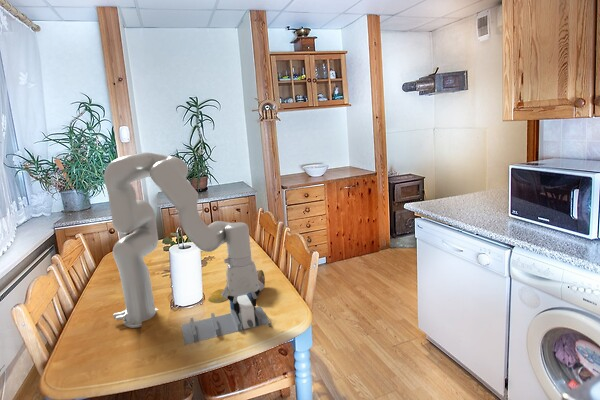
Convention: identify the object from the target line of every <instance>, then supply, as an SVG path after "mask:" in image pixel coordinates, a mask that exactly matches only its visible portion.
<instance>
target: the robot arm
mask: <svg viewBox="0 0 600 400" xmlns="http://www.w3.org/2000/svg"><path fill="white" fill-rule="evenodd" d="M188 168H189V167H188V164H186V162H185V161H184V160H183V159H181V158H179V157H177V156H170V155H165V154H160V153H159V154H158V153H153V152H141V153H140V152H139V153H135V154H130V155H129V154H128V155H125V156H121V157H117V158H116V159H114V160H111V161H110V162H109V164H108V165H107V166H106V167H105V170H104V173H103V179H104V184H105V188H106V192H107V194H108V195H107V196H108V203H109V209H110V214H111V220H112V225H113V228H114V230H115V231H116V232H117V233H119V234H123V235H125V234H128V235H125V236H123V237H121V238H120V239H118V241H116V242H115V243H114V246H113V248H112V256H113V259H114V262H115V264H116V266H117V269H118V272H119V277H120V278H119V279H120V282H121V289H122V293H123V294H122V295H123V300H124V305H125V309H124V310H122V311H120V312H119V311H118V312H114V313H113V314H112V315H113V319H114V320H115V319H116V321H121V320H123V322H122V323H123V325H124V326H125V327H127V328H129V329H130V328H131V329H134V328H136V329H137V328H142V325H143V324H142V323H143V322H146V321H148V320H151V319H152V318H153V317H155V315H156V313H157V312H156V311H159V308H157V307H156V305H155V299H154V293H153V287H152V281H151V276H150V270H149V268H148V265H147V264H146V262H145V261H144V258H145V257H146V256H148V255H150V254H151V253H152V252H154V251H155V250H156V249H157V246H158V244H159V234H158V228H157V220H156V214H155V211H154V208H153V207H152V205H151V204H150V202H147V201H146V200H143V199H137V193H136V190H135V188H134V186H133V185H132V184H131V183H132V182H135V181H138V180H142V179H146V178H149V177H150V179H151V180H152V181H153V183H154V184H155V185H156V186H157V187H158V189H159V190H160V191H161V192H162V193H163V195H164V196H165V197H166V198H167V199H168V200H169V202H171V204H172V205H173V206H174V207H175V209H176V210H177V215H178V219H179V222H180V224H181V228H182V229H183V232H184V234H186V236H187V237H188V239H190V241H191V242H192V243H193V244H194V245H195V246H196V247H197V248H198V249H199V250H201V251H202V252H206V253H211V252H214V251H215V250H218V248H219V247H221V246H222V245H223V244H226V251H227V258H225V259H223V262H224V264H227V266H226V285H225V287H224V288H223V289H224V290H223V292H222V296H223V297H225V298H227V300H230V301H232V302H233V307H234V311H236V312H237V314H239V304H238V301H237V297H238V296H239V295H244V294H248V293H251V296H250V301H251V303H252V305H253V307H254V310H255V307H257V299H256V298H257V295H258V294H259V293H260V291H261V290H262V289H263V288H264V289H265V286H264V285H263V284H262V283H261V282H260V281H259V280H258V275H257V271H258V270H257V267H256V263H255V261H253V259H252V249H251V240H250V229H249V225H248V224H247V223H245V222H242V221H240V222H239V221H238V222H229V221H222V220H216V221H213V222H212V223H210V224H209V225H207V224H206V223H205V222H204V220H203V219H202V218H201V216H200V213H199V210H198V201H199V193H198V191H197V190H196V189H195V188H194V186H193V185H192V184H191V183H190V182H189V181H188V179H187V177H188V175H189V169H188ZM129 233H130V234H129ZM264 289H263V290H264ZM228 292H229V294H227V293H228ZM230 301H229V302H230Z"/></svg>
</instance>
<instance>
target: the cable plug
mask: <svg viewBox="0 0 600 400" xmlns="http://www.w3.org/2000/svg"><path fill="white" fill-rule="evenodd" d="M237 301H238V304H239V314H237V315H238V318H239V320H240V322H241V324H242V326H243V329H246V328H250V327H254V326H255V316H254V307H253V305H252V303H251V301H250V300H249V298H248V296H247V294H246V295H242V296H238V297H237ZM254 328H255V327H254ZM250 329H251V328H250ZM246 330H247V329H246Z"/></svg>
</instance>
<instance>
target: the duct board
mask: <svg viewBox="0 0 600 400" xmlns="http://www.w3.org/2000/svg"><path fill="white" fill-rule="evenodd" d="M244 295H246V294H244ZM239 296H242V295H239ZM247 296H248V298H249V300H250V296H251V293H248V294H247ZM228 300H229V299H228ZM229 307H230V308H229V309H230V313H225V314H222V315H217V316H215V313H214V312H211V313H210V316H211V317H208V318H205V319H200V320H195V319H194V317H190V318H189V321H190V322H187V323H184V324H181V331H182V335H183V343H184V345H185V346H186V345H190V344H193V343H197V342H201V341H205V340H209V339H214V338H218V337H222V336H225V335H228V334H229V335H230V334H233V333H238V332H241V331H245V330H249V329H254V328H257V327H262V326H266V325H268V327H269V328H272V325H271V324H272V323H271V322H270V320H269V318H268V316H267V314H266V313H265V311H264V309H263V307H262V305H260V306H255V310H254V316H255V326H254V327H250V328H246V329H243V326H242V324H241V322H240V320H239V318H238V315H237V312H236V311H234V307H233V302H232V301H230V300H229Z"/></svg>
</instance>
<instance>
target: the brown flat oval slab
mask: <svg viewBox="0 0 600 400" xmlns="http://www.w3.org/2000/svg"><path fill="white" fill-rule="evenodd" d="M257 275H258V280H259V281H260V282H261V283H262V284H263V285H264V288H263V289H262V290H261V291H260V293H259V294H258V295H257V298H256V300H258V299H259V298H260V296H261V294H262V293H263V290H264V289H265V287H266V286H265V285H266V278H265V274H264V271H263V270H262V269H260V270H259V269H258V270H257Z"/></svg>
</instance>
